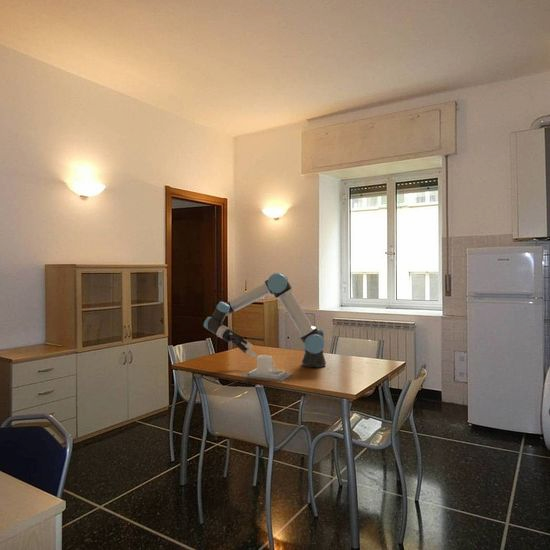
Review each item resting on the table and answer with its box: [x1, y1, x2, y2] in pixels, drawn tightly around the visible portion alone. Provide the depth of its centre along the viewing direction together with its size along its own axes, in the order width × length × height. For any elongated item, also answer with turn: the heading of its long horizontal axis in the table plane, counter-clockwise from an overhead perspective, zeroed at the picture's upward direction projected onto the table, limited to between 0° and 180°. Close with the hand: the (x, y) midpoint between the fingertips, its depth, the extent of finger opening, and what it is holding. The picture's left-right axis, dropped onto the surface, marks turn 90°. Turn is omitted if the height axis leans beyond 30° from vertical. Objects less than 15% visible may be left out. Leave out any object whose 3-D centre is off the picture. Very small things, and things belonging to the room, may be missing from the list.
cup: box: [256, 354, 276, 375], centre depth 250 cm, size 8×12×10 cm
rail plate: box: [240, 367, 293, 383], centre depth 250 cm, size 24×18×2 cm
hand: (253, 351), depth 262 cm, fingers open, 13 cm apart
